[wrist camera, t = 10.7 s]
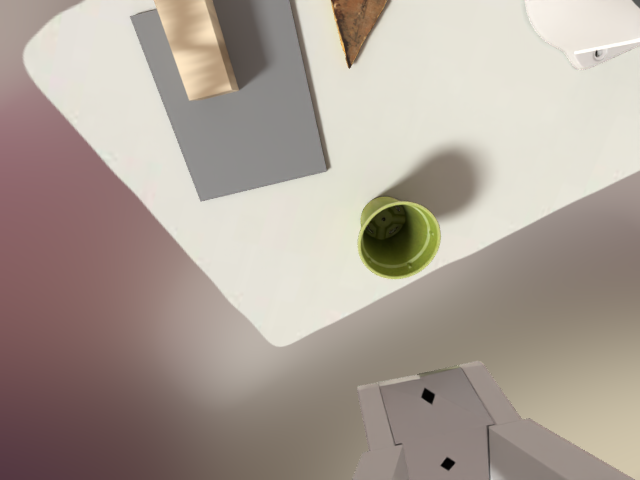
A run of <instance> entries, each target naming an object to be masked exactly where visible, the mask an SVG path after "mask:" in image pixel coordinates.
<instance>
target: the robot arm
mask: <svg viewBox="0 0 640 480" xmlns="http://www.w3.org/2000/svg"><path fill="white" fill-rule="evenodd" d="M525 7H526V11H527V15H528V18H529V20H530V23H531V25H532V26H533V28H534V30H535V31H536V33H537V34H538V35H539V36H540V37H541V38H542V39H543V40H544V41H545V42H547V43H548V44H550V45H552V46H554V47H556V48H558V49H560V50H561V51H563V52H564V53H565V55H566V56H567V58H568V60H569V61H570V63H571V64H572V65H573V67H574V68H576V69H577V70H584V69H588V68H591V67H594V66H596V65H598V64H600V63H603V62H605V61H607V60H609V59H611V58H614V57H616V56H618V55H620V54H622V53H625V52H627V51H629V50H631V49H634V48H636V47H638V46H640V0H525ZM596 50H597V55H596V56H595V52H596ZM357 388H358V396H359V402H360V407H361V412H362V417H363V422H364V427H365V432H366V437H367V443H368V447H369V451H367V452H363V453H362V456H361V458H360V460H359V463H358V465H357V468H356V470H355V473H354V475H353V478H352V480H635V479H633V478H631V477H630V476H628V475H626V474H624V473H623V472H621V471H619V470H618V469H616V468H614V467H612V466H611V465H609V464H607V463H605V462H604V461H602V460H600V459H599V458H597V457H595V456H593V455H592V454H590V453H588V452H586V451H585V450H583V449H581V448H580V447H578V446H576V445H574V444H572V443H571V442H569V441H567V440H566V439H564V438H562V437H560V436H559V435H557V434H555V433H554V432H552V431H550V430H549V429H547V428H545V427H543V426H542V425H540V424H538V423H536V422H535V421H533V420H531V419H530V418H528V419H521V417H520V416H519V414H518V413H517V411H516V410H515V408H514V407H513V406H512V404H511V403H510V401H509V400H508V399H507V397H506V396H505V394H504V393H503V391H502V390H501V388H500V387H499V386H498V384H497V383H496V381H495V380H494V378H493V377H492V375H491V374H490V373H489V371H488V370H487V368H486V367H485V365H484V364H483V363H482V362H480V361H475V362H470V363H466V364H461V365H458V366H452V367H448V368H443V369H438V370H434V371H429V372H425V373H421V374H417V375H413V376H408V377H402V378H397V379H392V380H387V381H381V382H378V383H372V384H367V385H362V386H358V387H357Z"/></svg>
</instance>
